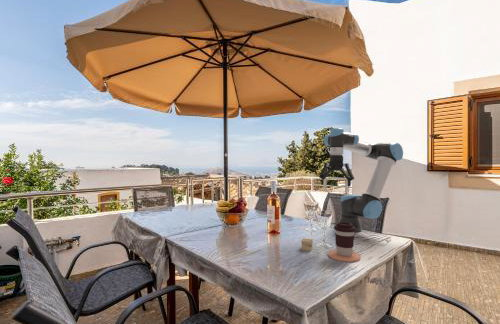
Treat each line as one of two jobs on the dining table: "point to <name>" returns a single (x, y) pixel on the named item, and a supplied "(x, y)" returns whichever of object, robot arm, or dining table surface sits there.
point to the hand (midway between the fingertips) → (335, 191)
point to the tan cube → (306, 244)
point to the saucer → (352, 258)
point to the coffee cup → (344, 238)
